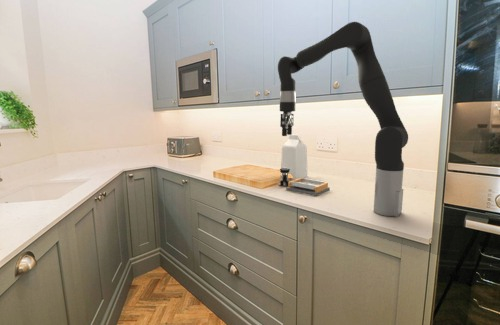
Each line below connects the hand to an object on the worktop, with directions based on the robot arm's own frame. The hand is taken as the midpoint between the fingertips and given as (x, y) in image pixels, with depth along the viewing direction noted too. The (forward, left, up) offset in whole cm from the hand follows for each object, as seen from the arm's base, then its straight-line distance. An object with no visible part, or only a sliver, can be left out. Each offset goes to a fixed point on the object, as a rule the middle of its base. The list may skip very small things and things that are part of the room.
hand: (287, 135), depth 134 cm
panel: (-7, -8, -28) cm, 30 cm away
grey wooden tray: (-7, -8, -26) cm, 28 cm away
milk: (+15, -29, -28) cm, 43 cm away
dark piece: (+8, -8, -28) cm, 31 cm away
